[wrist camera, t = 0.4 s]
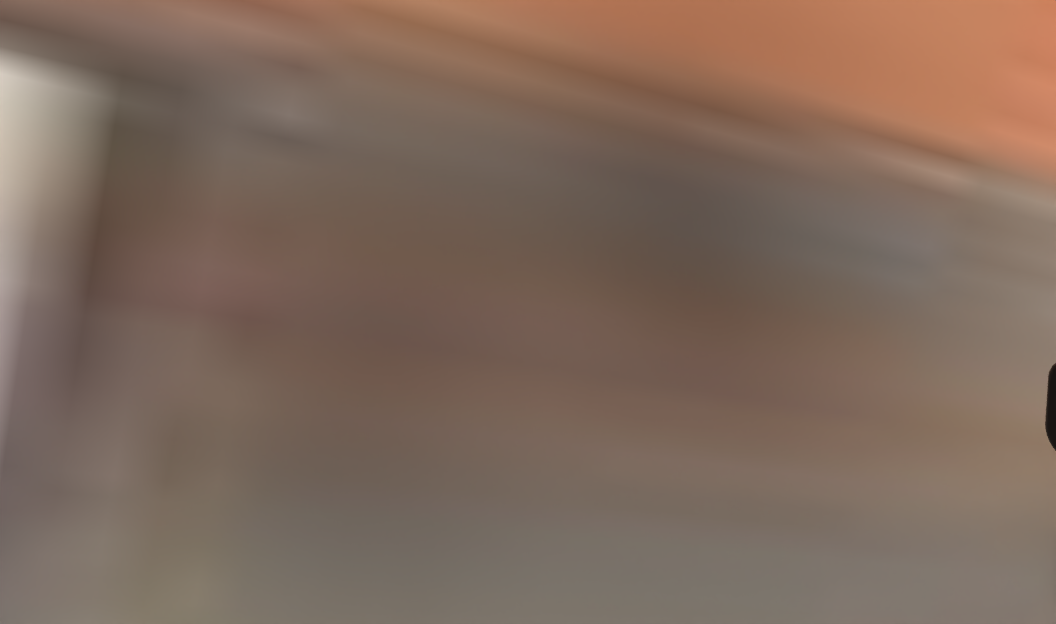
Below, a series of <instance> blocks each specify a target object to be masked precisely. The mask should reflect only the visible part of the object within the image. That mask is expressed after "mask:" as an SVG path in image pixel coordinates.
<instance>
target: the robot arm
mask: <svg viewBox="0 0 1056 624" xmlns="http://www.w3.org/2000/svg"><path fill="white" fill-rule="evenodd" d="M1045 427H1046V432H1047V436H1048V438H1049V441H1050V443H1051V444H1052V446H1053V448H1054V449H1055V451H1056V363H1055V364H1054V365H1053V366H1052V368H1051V370H1050V372H1049V376H1048V390H1047V406H1046V421H1045Z"/></svg>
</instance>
